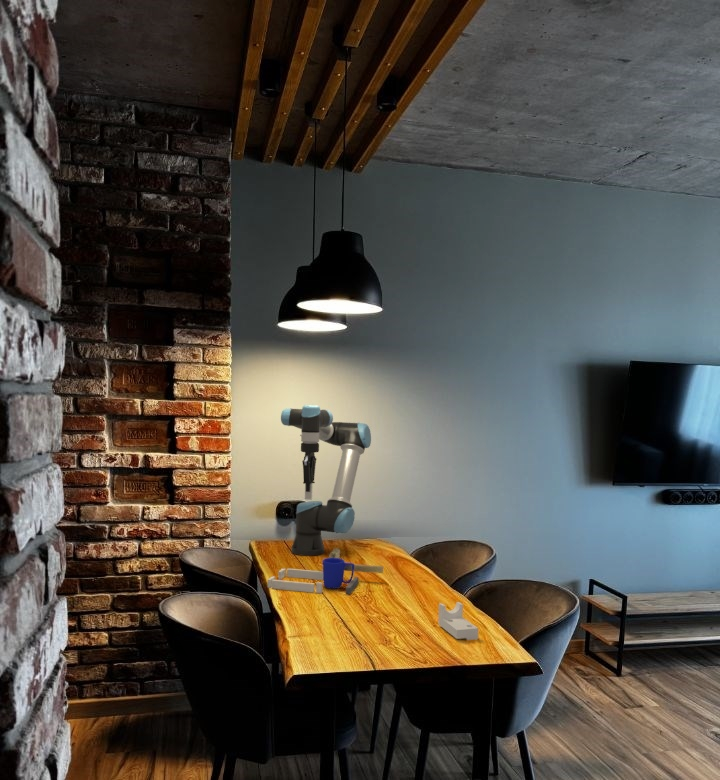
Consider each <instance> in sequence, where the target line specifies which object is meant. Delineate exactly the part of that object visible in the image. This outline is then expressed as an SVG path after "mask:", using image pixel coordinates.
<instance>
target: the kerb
mask: <svg viewBox="0 0 720 780" xmlns="http://www.w3.org/2000/svg"><path fill="white" fill-rule="evenodd" d="M359 580H360V579H359V576H353V577H352V580H351V582H350V583H348V585H346V587H345V595H349V596H350V595H351V594H352V593H353V591H354V590H355V589H356V588H357V586H358V585H359Z"/></svg>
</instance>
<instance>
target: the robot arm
mask: <svg viewBox="0 0 720 780" xmlns="http://www.w3.org/2000/svg"><path fill="white" fill-rule="evenodd" d="M280 414H281V415H280V422H281V424H282V425H283V426H285V427H286V426H287V427H295V428H297V429H300V430H301V433H300V435H299V437H301V439H300V440H301V443H300V451H301V453H304V456H303V460H302V467H303V468H302V470H303V482H302V483H303V484H304V500H307V501H304V502H303V501H302V502H299V503H298V504H297V506H296V512H295V515H296V516H295V518H296V521H295V536H294V540H293V542H292V545H291V553H292V554H295V555H298V556H318V555H323V554H324V553H325V546H324V545H325V544H324V542H323V537H322V532H328V533H335V534H346V533H348V532H349V531H350V530H351V529H352V527H353V525H354V522H355V519H356V518H355V513H356V512H355V510H354V508H353V505H352V503H351V499H352V494H353V488H354V484H355V480H356V476H357V471H358V466H359V463H360V457H361V455H364V452H365V449H369V448H370V446H371V444H372V433H371V429H370V427H369V425H368V424H366V423H360V422H341V421H335V422H334V416H333V413H332V412H331V411H330V410H328V409H321V408H320V406H319V405H313V404H312V405H310V404H309V405H305V404H304V405H303V406H302V408H284V409H283V410H282V411H281V413H280ZM320 441H323V442H324V443H326V444H330V445H332V446H336V447H338V446H339V447H340V449H341V451H342V453H341V457H340V461H339V465H338V470H337V473H336V478H335V483H334V487H333V491H332V495H331V498H328V500H327V502H326V504H323V502H322V501H320V500H314V501H313V500H312V499H313V484H315V476H316V475H315V473H316V463H317V457H316V456H315V453H319V451H320ZM308 500H310V501H308Z"/></svg>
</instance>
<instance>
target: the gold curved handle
mask: <svg viewBox="0 0 720 780" xmlns="http://www.w3.org/2000/svg"><path fill="white" fill-rule="evenodd" d="M340 554H341V548H333V549H332V550H331V551H330V553H329V554H328V558H339V559H340V556H341V555H340ZM353 564H354V563H353ZM344 571H348V572H349V571H350V572H352V565H346V566H345V567H344ZM354 572H363V573H373V574H374V573H376V574H383V572H384V566H382V565H371V564H370V565H367V564H356V563H355V564H354Z"/></svg>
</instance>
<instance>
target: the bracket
mask: <svg viewBox="0 0 720 780" xmlns="http://www.w3.org/2000/svg"><path fill="white" fill-rule="evenodd" d="M455 603H456V604H455V606H454V608H453V609H452V610H447V609H446V605H445V604H443V603H438V621H437V622H438V625H439V626H440V628H442V629H444V631H446V632H448V633H449V634H450V635H451V636H453V638H455V639H456V640H457V639H459V640H461V639H465V640H467V641H471V640H473V641H474V640H478V639H479V628H478V626H476V625H474V624H473V623H471V622H470V621H469V620H467V619H466V618H465V617H463V616H464V615H463V611H464V604H463V603H461V602H460V601H457V602H455Z"/></svg>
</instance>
